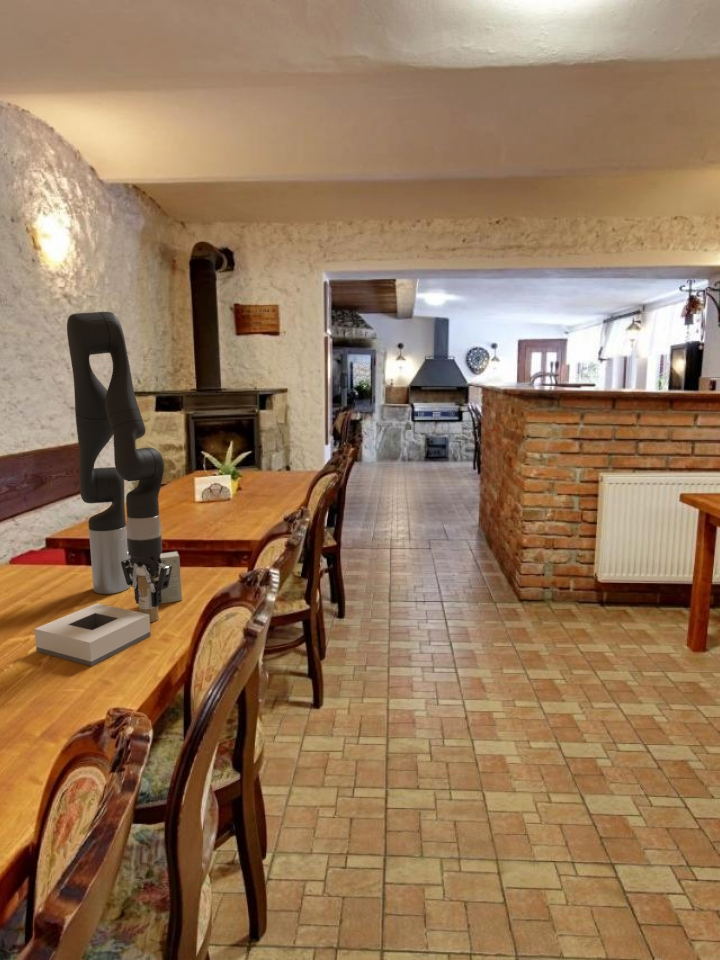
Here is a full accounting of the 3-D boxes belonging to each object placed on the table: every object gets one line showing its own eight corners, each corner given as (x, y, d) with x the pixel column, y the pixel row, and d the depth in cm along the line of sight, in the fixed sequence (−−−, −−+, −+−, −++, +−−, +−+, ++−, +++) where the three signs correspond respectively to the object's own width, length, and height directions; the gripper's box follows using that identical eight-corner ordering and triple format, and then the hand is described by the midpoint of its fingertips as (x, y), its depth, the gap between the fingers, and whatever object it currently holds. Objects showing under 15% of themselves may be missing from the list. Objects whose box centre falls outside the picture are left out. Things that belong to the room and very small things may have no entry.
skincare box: (180, 595, 159) (178, 550, 157) (182, 601, 155) (180, 555, 153) (155, 598, 157) (152, 553, 155) (156, 604, 153) (154, 558, 151)
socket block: (98, 623, 141) (96, 603, 140) (150, 635, 134) (149, 614, 133) (36, 651, 127) (34, 628, 126) (91, 666, 120) (89, 642, 119)
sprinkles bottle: (135, 619, 143) (132, 565, 141) (153, 614, 147) (149, 560, 144) (146, 624, 140) (142, 569, 138) (163, 619, 144) (160, 564, 141)
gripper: (179, 534, 140) (182, 604, 143) (133, 527, 146) (137, 595, 149) (156, 541, 134) (160, 615, 137) (108, 534, 140) (113, 605, 142)
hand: (148, 604), depth 143 cm, fingers closed on sprinkles bottle, 4 cm apart
